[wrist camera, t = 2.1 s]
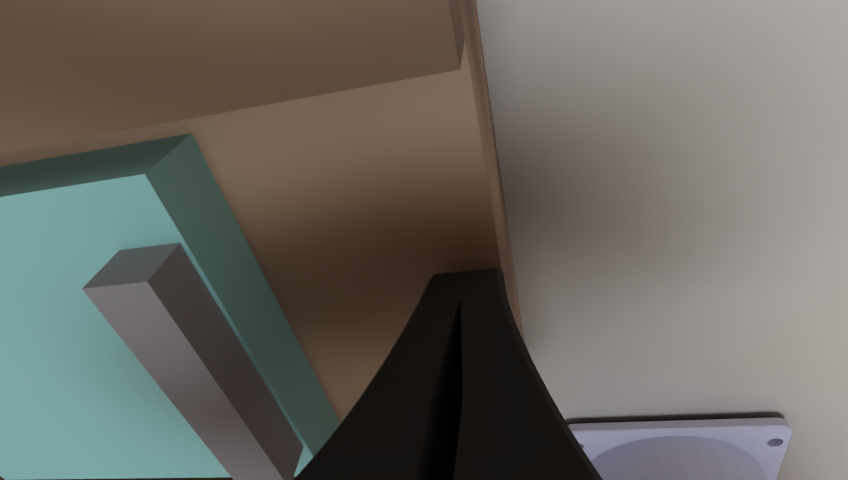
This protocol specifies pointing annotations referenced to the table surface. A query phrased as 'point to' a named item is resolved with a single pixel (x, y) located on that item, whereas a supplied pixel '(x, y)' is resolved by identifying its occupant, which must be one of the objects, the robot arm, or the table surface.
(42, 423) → the cover plate
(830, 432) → the table surface
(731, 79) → the table surface
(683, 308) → the table surface
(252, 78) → the walnut box
